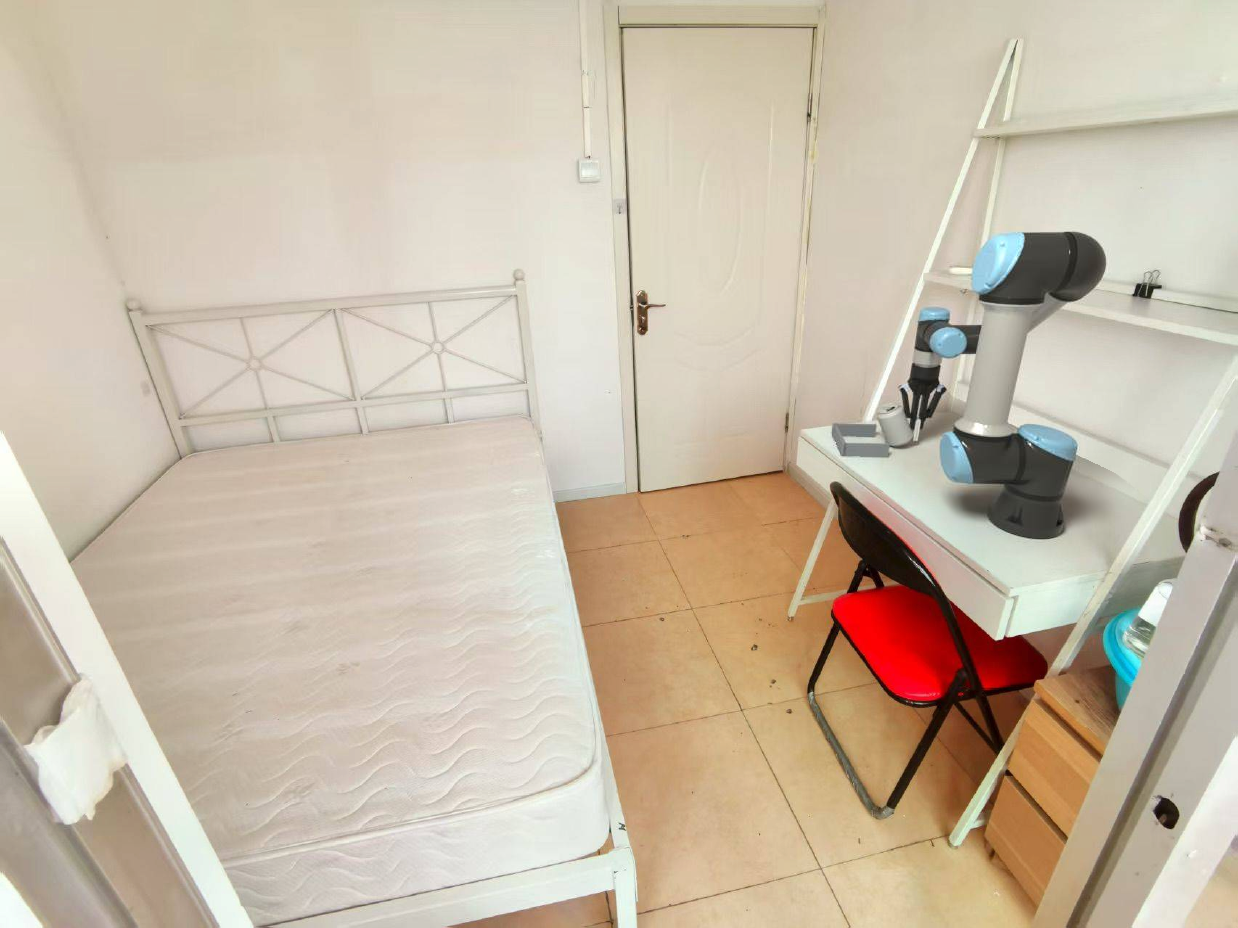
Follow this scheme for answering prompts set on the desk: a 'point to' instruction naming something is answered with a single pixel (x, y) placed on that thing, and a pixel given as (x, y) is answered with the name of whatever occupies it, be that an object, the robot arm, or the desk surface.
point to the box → (858, 448)
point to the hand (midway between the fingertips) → (914, 438)
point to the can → (894, 424)
